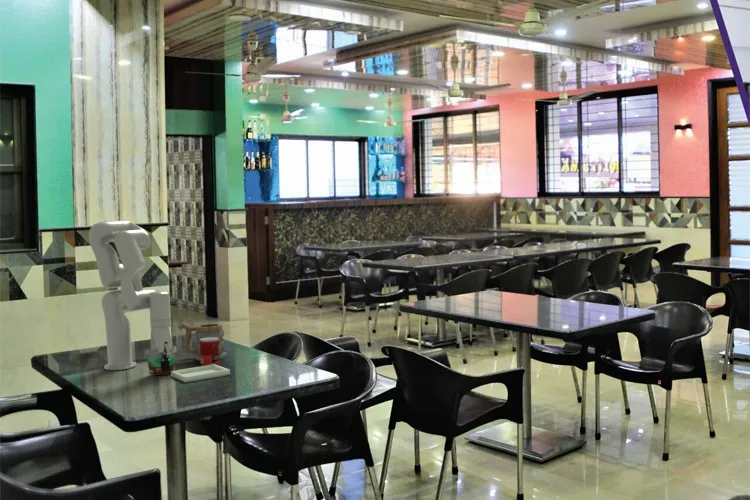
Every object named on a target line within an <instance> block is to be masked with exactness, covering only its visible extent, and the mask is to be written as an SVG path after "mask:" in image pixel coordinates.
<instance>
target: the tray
mask: <svg viewBox="0 0 750 500" xmlns="http://www.w3.org/2000/svg"><path fill="white" fill-rule="evenodd" d="M230 371H231V369H230V368H227V367H223V366H221V365H219V366H218V365H215V364H212V365H206V366H196V367H189V368H182V369H178V370H174V371H171V373H170V377H172V378H173V379H175V380H178V381H181V382H183V383H193V382H197V381H203V380H208V379H214V378H221V377H224V376H230V375H231V372H230Z"/></svg>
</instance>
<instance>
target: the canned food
mask: <svg viewBox="0 0 750 500" xmlns="http://www.w3.org/2000/svg"><path fill="white" fill-rule="evenodd" d="M200 359H201V361H200V365H201V366H206V365H212V364H215V365H218V366H221V359H220V345H219V338H218V337H206V338H201V339H200Z"/></svg>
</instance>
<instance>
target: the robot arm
mask: <svg viewBox="0 0 750 500" xmlns="http://www.w3.org/2000/svg"><path fill="white" fill-rule="evenodd" d="M88 241H89V244H90V248H91V250H92V252H93V254H94V257H95V260H96V265H97V266H96V267H97V271H98V275H99V279H100V282H101V285H102V286H103V287H104V288H106V289H114V288H115V289H116V288H120V289H117V290H112V291H109V292H106V293H105V294H104V295H103V296H102V298H101V308H102V311H103V315H104V321H105V335H106V352H107V355H106V356H107V363H106V364H105V365H104V367H103V368H104V369H105V370H108V371H121V370H128V369H133V368H134V367H137V362H136V361H133V353H132V351H133V350H132V349H133V348H132V336H131V335H132V333H131V332H132V331H131V322H130V321H129V319H128V317H127V316H126V315H125V314H126V313H130V312H137V311H142V310H149V317H150V318H149V323H150V350H157V353H158V354H162V355H161V359H162V361H161V371H168V370H170V366H169V360H170V359H169V356H170V351H171V348H172V341H171V340H172V339H171V330H170V327H171V323H172V322H171V303H170V302H171V301H170V294H169V291H165V290H159V289H154V288H151V289H150V288H149V289H144V288H143V285H142V279H141V275H140V271H142V270H143V269H144V268H145V267H146V264H147V263H146V261H145V258H144V255H143V253H142V251H145V250H147V249H148V248H149V247H150V245H151V237H150V234H149V233H148V232H147V231H146V230H145V229H144V228H142V227H141V226H139V225H137V224H135V223H134V222H132V221H129V220H114V221H113V220H107V221H100V222H97V223H93V224H92V226H91V227H90V229H89V232H88ZM110 243H113V244H114V246H115V248H116V249H115V248H114V247H113V246H112V245H111V244H110ZM116 250H117V251H116ZM119 259H120V260H119ZM120 262H121V263H120ZM164 350H165V351H166V353H163V351H164ZM163 354H166V355H164V356H163Z"/></svg>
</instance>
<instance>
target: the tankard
mask: <svg viewBox="0 0 750 500" xmlns="http://www.w3.org/2000/svg"><path fill="white" fill-rule="evenodd" d="M177 328H178V330H179V331H181V330H183V329H184V330H185V337H184V341H183V347H184V349H185V352H186V353H187V354H191V355H194V356H193V358H194V359H195V360H196V361H199V362H201V359H200V339H201V338H206V337H218V338H219V345H220V360H223V359H225V358H226V357H227V356H228V352H226V351H224V348H225V346H226V344H225V341H224V338H223V337H224V336H225V331H224V329H223V324H221V323H203V324H199V325H196V326H191V325H188V324H186V323H181V324H180V325H179V326H177ZM192 332H194V338H195V339H196V343H195V348H191V346H190V342H191V339H192Z"/></svg>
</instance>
